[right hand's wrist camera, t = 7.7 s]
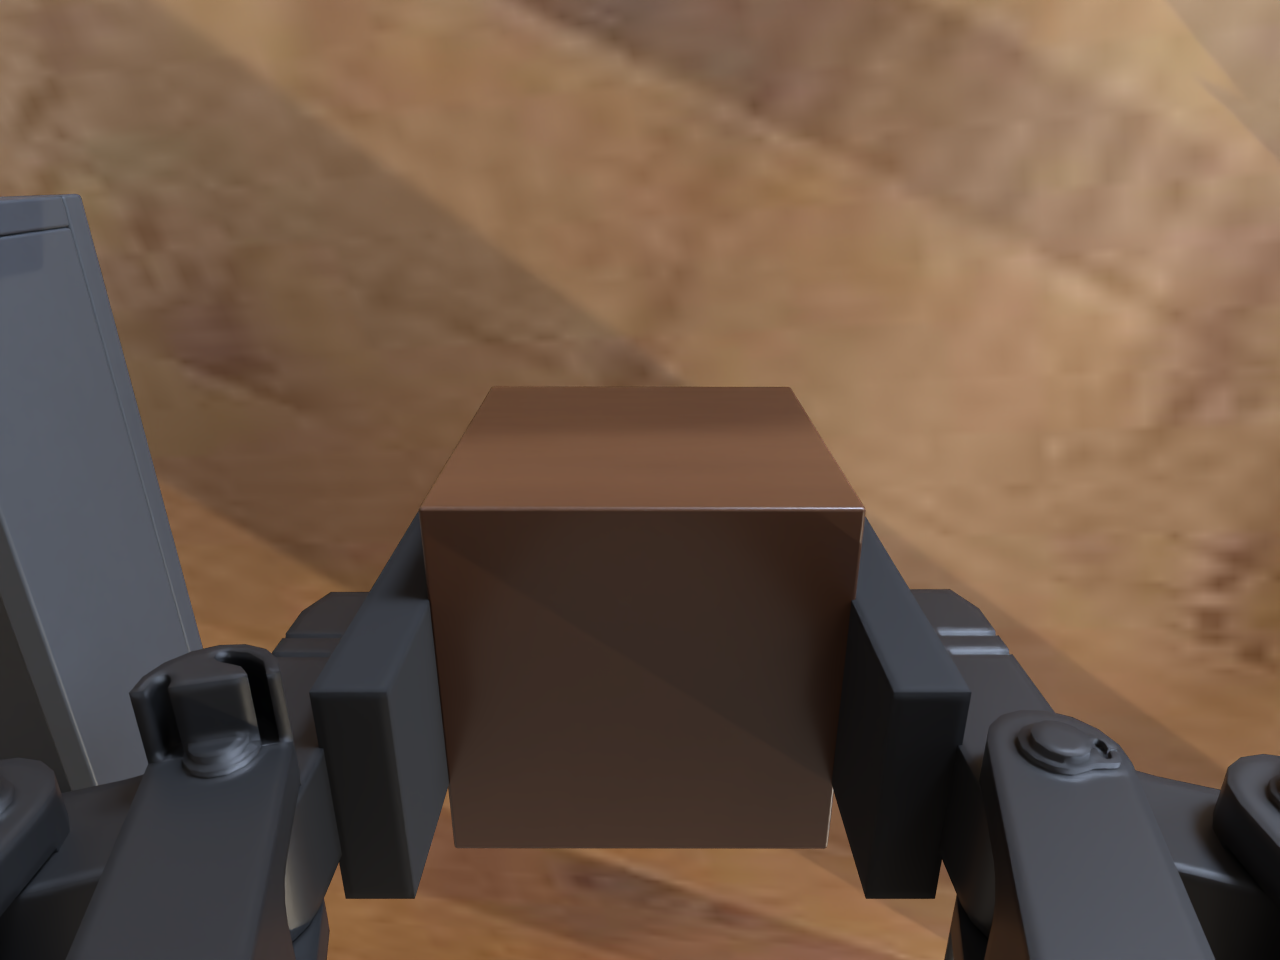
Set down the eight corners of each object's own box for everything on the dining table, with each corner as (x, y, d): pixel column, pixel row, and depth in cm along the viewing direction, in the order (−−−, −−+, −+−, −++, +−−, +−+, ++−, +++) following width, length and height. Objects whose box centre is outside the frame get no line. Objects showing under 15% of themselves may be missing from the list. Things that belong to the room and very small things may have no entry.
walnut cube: (491, 385, 14) (416, 507, 9) (791, 385, 14) (867, 507, 9) (508, 641, 16) (454, 849, 11) (772, 642, 16) (827, 849, 11)
